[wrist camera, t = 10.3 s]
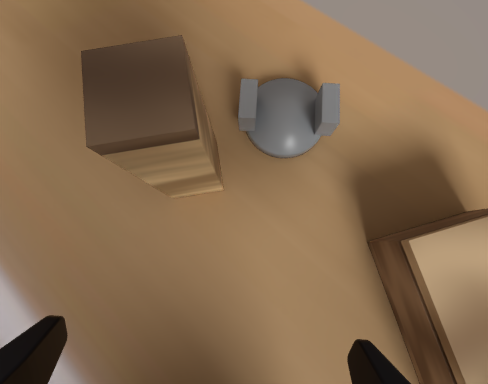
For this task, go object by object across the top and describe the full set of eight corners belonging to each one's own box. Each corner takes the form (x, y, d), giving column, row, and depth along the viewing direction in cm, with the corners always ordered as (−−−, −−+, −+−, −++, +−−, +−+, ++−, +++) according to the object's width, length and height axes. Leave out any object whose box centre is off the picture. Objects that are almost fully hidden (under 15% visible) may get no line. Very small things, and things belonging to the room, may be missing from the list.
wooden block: (223, 190, 21) (194, 128, 10) (173, 198, 21) (86, 146, 10) (216, 142, 22) (182, 35, 11) (167, 150, 22) (81, 51, 11)
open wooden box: (551, 397, 18) (640, 443, 14) (439, 434, 18) (496, 492, 14) (467, 211, 20) (522, 203, 16) (367, 241, 20) (397, 240, 16)
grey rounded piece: (326, 161, 21) (339, 146, 18) (238, 155, 22) (236, 140, 19) (327, 87, 23) (340, 62, 20) (244, 83, 23) (243, 57, 20)
